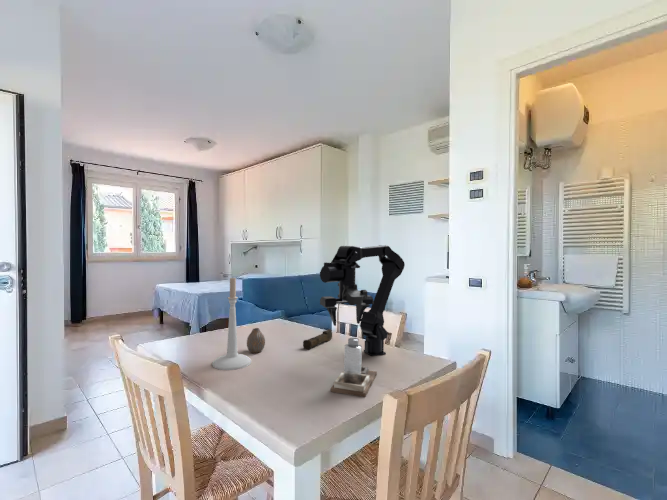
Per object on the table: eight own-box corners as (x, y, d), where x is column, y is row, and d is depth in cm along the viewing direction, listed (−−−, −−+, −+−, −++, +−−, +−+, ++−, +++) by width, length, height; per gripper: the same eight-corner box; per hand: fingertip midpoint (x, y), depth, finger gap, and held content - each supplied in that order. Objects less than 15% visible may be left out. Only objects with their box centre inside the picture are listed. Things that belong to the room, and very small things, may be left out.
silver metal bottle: (351, 378, 103) (352, 336, 103) (364, 383, 100) (365, 339, 99) (340, 383, 99) (341, 339, 99) (353, 388, 96) (354, 342, 96)
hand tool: (310, 350, 133) (310, 339, 133) (302, 348, 136) (302, 337, 136) (337, 340, 149) (337, 329, 149) (329, 338, 151) (329, 328, 151)
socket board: (346, 370, 112) (346, 363, 112) (376, 374, 109) (376, 366, 109) (330, 391, 96) (330, 382, 96) (365, 397, 93) (365, 387, 93)
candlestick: (256, 358, 123) (257, 275, 123) (241, 371, 111) (242, 279, 110) (223, 356, 125) (224, 274, 125) (205, 368, 113) (205, 278, 112)
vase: (242, 352, 129) (243, 329, 129) (253, 347, 136) (253, 325, 135) (258, 355, 127) (258, 331, 126) (268, 350, 133) (268, 327, 133)
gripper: (332, 284, 110) (331, 332, 111) (381, 282, 118) (380, 327, 118) (319, 280, 121) (319, 324, 121) (366, 279, 128) (365, 320, 128)
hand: (346, 324), depth 122 cm, fingers open, 9 cm apart
